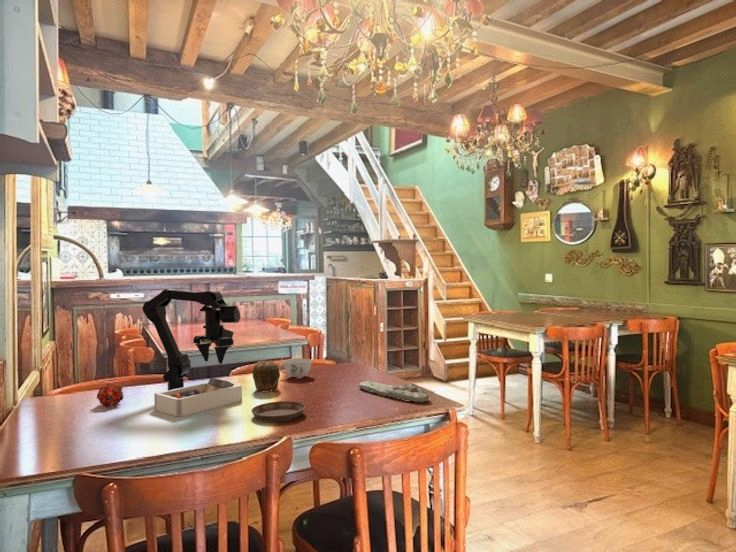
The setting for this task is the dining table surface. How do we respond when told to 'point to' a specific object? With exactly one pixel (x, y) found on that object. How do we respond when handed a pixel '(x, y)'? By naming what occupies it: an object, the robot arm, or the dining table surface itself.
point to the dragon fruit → (110, 394)
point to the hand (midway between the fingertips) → (213, 362)
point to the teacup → (296, 367)
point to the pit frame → (195, 399)
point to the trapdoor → (217, 385)
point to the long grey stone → (396, 391)
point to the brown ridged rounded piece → (266, 375)
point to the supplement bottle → (185, 393)
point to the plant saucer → (278, 411)
